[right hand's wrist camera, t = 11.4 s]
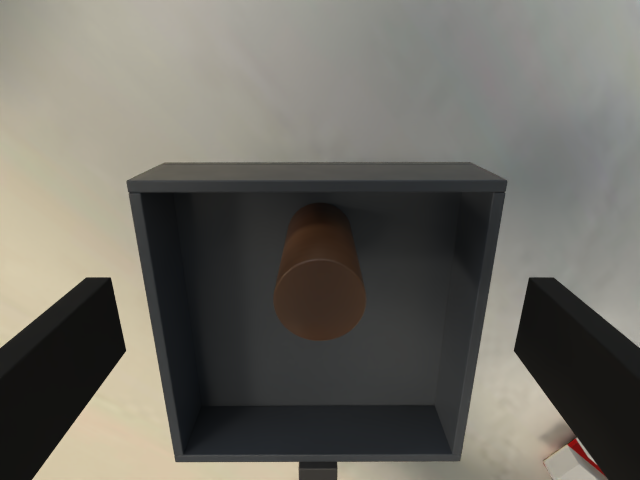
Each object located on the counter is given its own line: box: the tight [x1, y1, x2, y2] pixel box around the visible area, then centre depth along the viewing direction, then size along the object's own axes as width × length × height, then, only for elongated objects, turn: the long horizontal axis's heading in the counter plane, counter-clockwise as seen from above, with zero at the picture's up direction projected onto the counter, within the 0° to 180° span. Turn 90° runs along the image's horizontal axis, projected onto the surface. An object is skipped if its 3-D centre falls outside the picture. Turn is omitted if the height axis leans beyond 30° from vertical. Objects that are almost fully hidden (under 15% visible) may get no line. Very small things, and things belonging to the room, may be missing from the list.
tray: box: [127, 162, 507, 480], centre depth 23 cm, size 29×15×4 cm, turn 0°
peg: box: [273, 203, 367, 341], centre depth 17 cm, size 3×3×7 cm
